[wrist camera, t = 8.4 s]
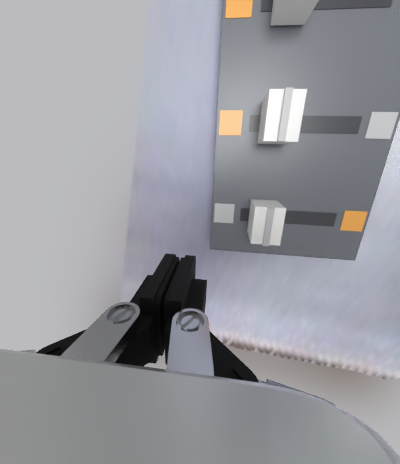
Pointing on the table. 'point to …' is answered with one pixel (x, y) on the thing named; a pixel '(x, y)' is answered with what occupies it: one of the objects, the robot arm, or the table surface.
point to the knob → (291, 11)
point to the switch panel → (306, 122)
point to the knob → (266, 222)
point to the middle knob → (281, 116)
